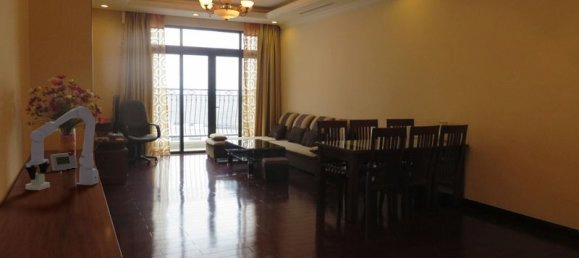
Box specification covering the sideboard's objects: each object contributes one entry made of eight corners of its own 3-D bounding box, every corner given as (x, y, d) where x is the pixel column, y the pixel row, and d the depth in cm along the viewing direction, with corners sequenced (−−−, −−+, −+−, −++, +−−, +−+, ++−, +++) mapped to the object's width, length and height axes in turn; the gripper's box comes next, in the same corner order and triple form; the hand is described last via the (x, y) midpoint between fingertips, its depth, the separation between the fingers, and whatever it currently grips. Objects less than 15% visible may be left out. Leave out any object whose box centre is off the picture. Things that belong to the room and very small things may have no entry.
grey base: (49, 187, 231) (49, 182, 231) (39, 191, 223) (39, 185, 223) (36, 186, 232) (36, 181, 232) (25, 190, 224) (25, 184, 224)
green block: (44, 182, 229) (44, 173, 229) (38, 184, 225) (38, 175, 225) (37, 182, 230) (37, 173, 230) (31, 183, 226) (31, 174, 225)
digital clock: (51, 172, 268) (51, 155, 266) (48, 169, 274) (47, 153, 273) (79, 169, 279) (79, 153, 277) (75, 167, 285) (75, 151, 284)
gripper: (40, 150, 234) (40, 174, 235) (20, 154, 219) (20, 180, 221) (52, 151, 233) (52, 175, 234) (32, 155, 218) (33, 181, 220)
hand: (37, 178), depth 227 cm, fingers open, 7 cm apart
